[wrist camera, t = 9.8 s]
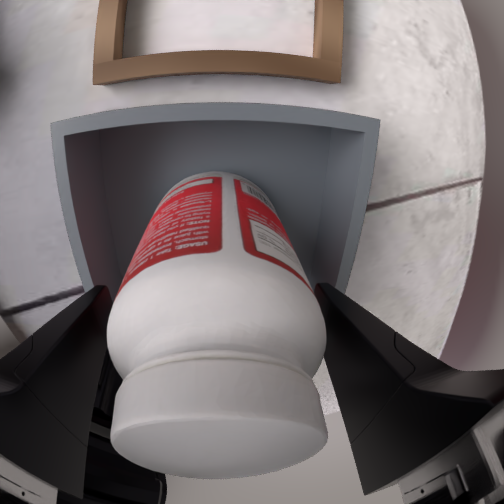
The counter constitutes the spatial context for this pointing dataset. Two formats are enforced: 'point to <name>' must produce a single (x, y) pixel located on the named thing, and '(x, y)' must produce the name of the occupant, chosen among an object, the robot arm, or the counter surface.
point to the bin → (207, 160)
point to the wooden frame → (217, 52)
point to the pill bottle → (216, 338)
